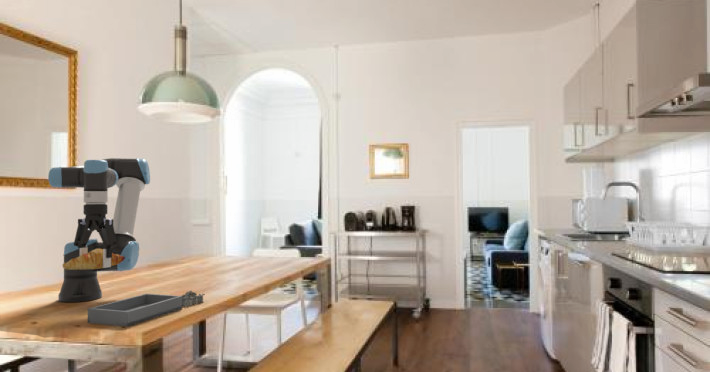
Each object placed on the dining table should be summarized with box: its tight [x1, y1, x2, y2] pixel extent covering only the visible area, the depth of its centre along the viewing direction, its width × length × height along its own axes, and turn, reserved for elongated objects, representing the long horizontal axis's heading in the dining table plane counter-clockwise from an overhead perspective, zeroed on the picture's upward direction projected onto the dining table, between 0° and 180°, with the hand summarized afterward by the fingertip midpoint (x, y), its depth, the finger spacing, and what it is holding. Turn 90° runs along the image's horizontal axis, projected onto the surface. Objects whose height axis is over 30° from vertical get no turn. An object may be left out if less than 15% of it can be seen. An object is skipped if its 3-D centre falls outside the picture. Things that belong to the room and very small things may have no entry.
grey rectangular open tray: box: [87, 293, 183, 327], centre depth 167 cm, size 16×26×4 cm, turn 161°
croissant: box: [61, 248, 125, 270], centre depth 173 cm, size 21×10×8 cm, turn 145°
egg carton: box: [181, 289, 206, 307], centre depth 186 cm, size 11×8×4 cm
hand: (95, 266), depth 173 cm, fingers closed on croissant, 10 cm apart
